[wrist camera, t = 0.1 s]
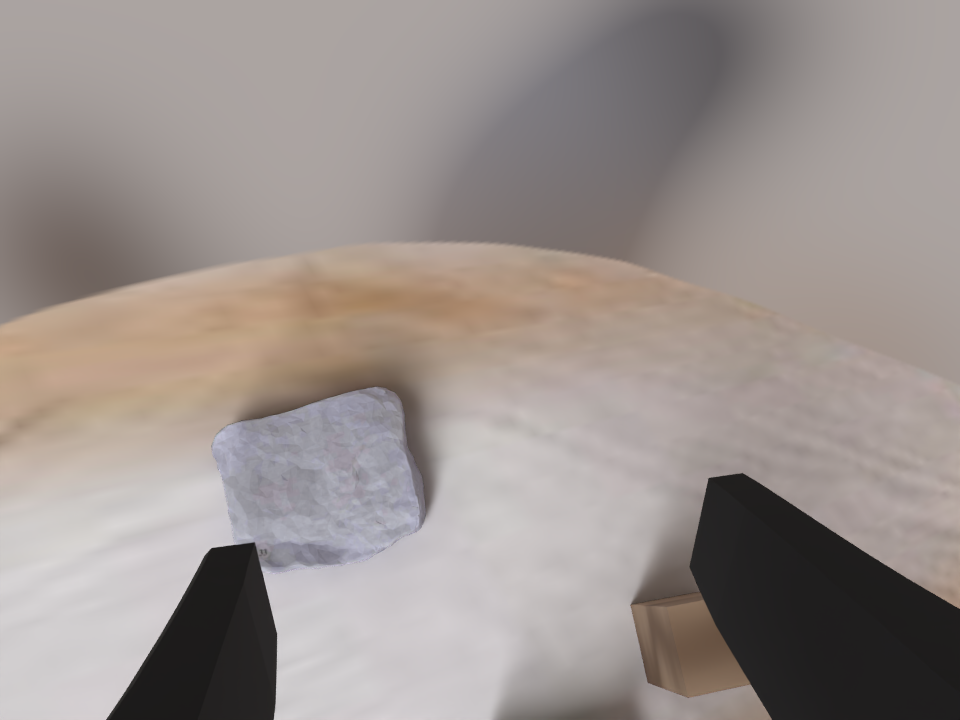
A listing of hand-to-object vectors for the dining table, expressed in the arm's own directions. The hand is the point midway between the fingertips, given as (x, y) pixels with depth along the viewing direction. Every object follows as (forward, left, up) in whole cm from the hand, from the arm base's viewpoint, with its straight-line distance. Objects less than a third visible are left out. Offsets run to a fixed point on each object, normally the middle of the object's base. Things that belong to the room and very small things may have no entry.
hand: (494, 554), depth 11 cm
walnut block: (-6, -15, -32) cm, 36 cm away
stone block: (+6, +5, -33) cm, 34 cm away
